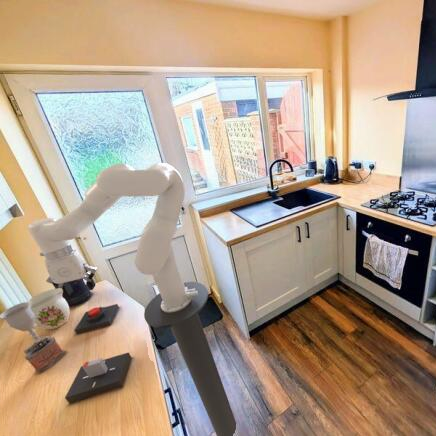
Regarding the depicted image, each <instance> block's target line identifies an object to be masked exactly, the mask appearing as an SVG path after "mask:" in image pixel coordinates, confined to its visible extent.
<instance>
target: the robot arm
mask: <svg viewBox="0 0 436 436" xmlns="http://www.w3.org/2000/svg"><path fill="white" fill-rule="evenodd" d="M185 191H186V190H185V183H184V180H183V178H182V176H181V174H180V173H179V171H178V170H177V169H175V167H173V166H172V165H171V164H168V163H164V162H158V163H155V164H152V165H151V166H149V167H148V168H146V169H135V168H133V167H132V166H131V165H129V164H127V163H115V164H112V165H110V166H108V167H106V168H104V169H102V170H101V171H100V172H99V173H98V174H97V175H96V179H95V182H93V183H92V184H91V185H90V186H89V187H88V188H87V189H86V190H85V191H84V197H85V198H84V199H83V200H82V201H81V202H80V203H79V204H78V205H77V206H76V207H75V208H74V209H72V210H71V211H70V212H68V213H67V214H65V215H63V216H62V217H60V218H58V219H56V218H54V217H45V218H42V219H41V218H40V219H38V220H35V221H32V222H31V223H29V224H28V225H27V230H28V232H29V233H30V235H31V237H32V239H33V240H34V241H35V243H36V244H37V246H38V248H39V250H40V251H41V252H40V253H39V256H40V257H44V260H43V261H44V265H45V268H46V271H47V273H48V275H49V276H48V278H46V280H45V282H46V283H48V284H52V286H53V285H55V286H58V287H59V288H62V290H63V291H64V293H65V294H66V295H67V296H69V295H70V294H71V293H72V292H73V289H72V288H71V286H70V284H69V283H66V282H69V281H73V280H77V279H81V278H83V280H84V281H85V284H87V286H88V288H89V289H90V291H93V290H94V289H95V287H96V282H95V280H94V276H95V275H96V273H97V271H98V267H95V266H91V265H89V264H87V263H86V261H85V259H84V258H83V256H82V255H81V254H80V252H78V251H77V250H76V249H74V248H73V247H72V245H71V242H70V240H74V239H76V238H78V236H80V235H82V233H84V232H85V231H86V230H87V229H88V228H90V227H91V226H92V225H93V224H94V223H95V222H96V221H98V219H99V218H100V217H101V216H102V215H103V214H104V213H106V211H108V210H110V209H111V208H112V207H113V206H114V205H115V204H116V203H117V202H118V201H119V200H120V199H121V198H122V197H124V198H125V197H127V198H128V197H155V196H157V199H156V202H155V207H154V209H153V210H154V211H153V213H152V215H151V218H150V220H149V221H148V222H147V224H146V225H145V227H144V228H143V230H142V232H141V234H140V238H139V241H138V246H137V250H136V254H135V258H134V266H135V268H136V269H137V271H138V272H140V273H141V274H143V275H147V276H150V275H151V276H152V278H153V280H154V283H155V285H156V287H157V290H158V292H159V293H160V295H161V297H162V300H163V301H162V303H161V308H162V310H163V311H164V312H167V313H172V312H176V311H179V310H181V309H183V308H185V307H186V306H187V305H188V304H189V303H190V302H191V300H192V296H196V295H198V291H195V288H194V289H191V290H188V288H187V287H185V286H184V283H185V282H184V281H183V278H182V274H181V271H180V269H179V266H178V263H177V261H176V260H177V259H176V256H175V252H174V247H173V244H172V241H173V240H174V236H175V234H176V231H177V228H178V223H179V218H180V215H181V212H182V207H183V203H184V199H185V194H186V193H185Z"/></svg>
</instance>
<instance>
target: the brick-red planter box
mask: <svg viewBox="0 0 436 436" xmlns="http://www.w3.org/2000/svg"><path fill="white" fill-rule="evenodd" d="M41 338H42V339H40V340H37V341H35V340H34V342H35V343H34V342H33V344H31V345H30V346H28V347H26V348H25V349H24V350H23V353H24V354H25V356H24V359H25V360H26V361H27V362H28V363H29V364H30V365H31V366H32V368H33V369H34V370H35V372H36V373H37V374H41V373H43V372H45V371H46V370H48V369H49V368H50V367H52V366H54V364H55V363H57V362H58V361H60V359H61V358H62V357H64V356H65V354H66V352H65V350H63V348H62V347H61V346H60V344H59V343H58V342H57V340H56V338H55V337H50V338H49V336H47V335H44V336H43V337H41Z"/></svg>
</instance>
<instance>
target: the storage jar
mask: <svg viewBox="0 0 436 436" xmlns="http://www.w3.org/2000/svg"><path fill="white" fill-rule="evenodd" d="M66 283H69V284H70V286H71V288H72V289H73V292H72V293H71V294H70V295H69V296H67V295H66V294H65V293H64V291H63V294H62V297H63V298H64V299H65V300H66V302H67V303H68V306H69V308H75V307H78V306H81V305H83V304H84V303H86V302H88V301H89V300H90V299H91V298H92V296H93V293H92V291H91V290H90V289H89V288H88V286H87V284H86V281H85V280H84V279H83V278H81V279H77V280H73V281H69V282H66ZM52 286H53V288H54V289H57V288H59V287H58V286H55V285H53V284H52Z"/></svg>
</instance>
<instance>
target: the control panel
mask: <svg viewBox="0 0 436 436" xmlns="http://www.w3.org/2000/svg"><path fill="white" fill-rule="evenodd" d="M132 359H133V357H132V355H131V354H130V352H125V353H121V354H118V355H115V356H112V357H108V358H105V359H102V360H103V361H104V363H105V365H106V366H107V368H108V370H107V372H106V373H105V374H101V375H98V376H95V377H92V378H89V376H88V375H87V373H86V372H85V370H84V369H83V365H81V366H80V368H79V370H78V372H77V373H76V376H75V377H74V379H73V381H72V383H71V385H70V387H69V389H68V391H67V393H66V395H65V396H64V399H65V400H66V402H68V404H69V405H71V404H74V403H77V402H80V401H84V400H86V399H90V398H93V397H96V396H99V395H102V394H105V393H108V392H112V391H114V390H118V389H120V388H124V387H123V386H124V383H125V380H126V378H127V374H128V371H129V368H130V366H131V362H132Z"/></svg>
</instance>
